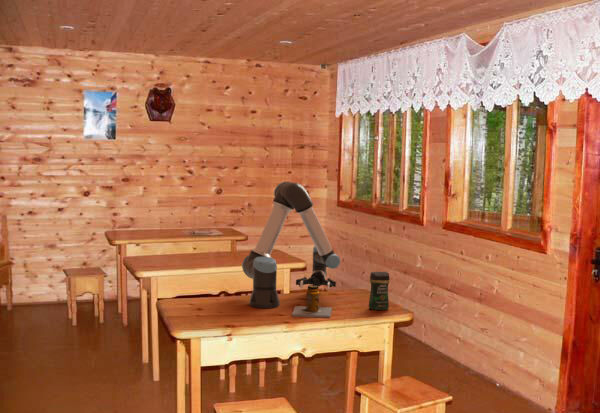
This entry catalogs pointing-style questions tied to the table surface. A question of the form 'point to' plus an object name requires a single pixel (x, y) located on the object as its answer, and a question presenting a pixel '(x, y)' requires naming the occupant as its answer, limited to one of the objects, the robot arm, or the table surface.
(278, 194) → the robot arm
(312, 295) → the condiment
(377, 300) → the coffee jar
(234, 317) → the table surface
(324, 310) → the plain gray board
